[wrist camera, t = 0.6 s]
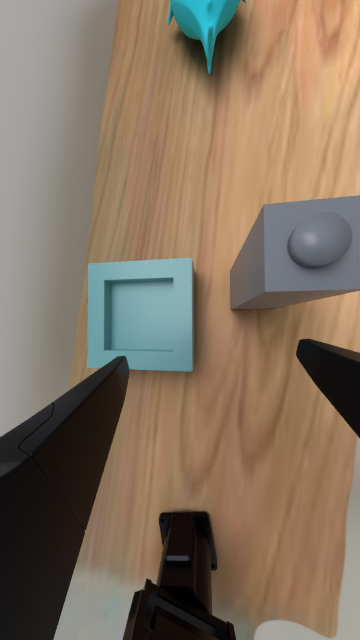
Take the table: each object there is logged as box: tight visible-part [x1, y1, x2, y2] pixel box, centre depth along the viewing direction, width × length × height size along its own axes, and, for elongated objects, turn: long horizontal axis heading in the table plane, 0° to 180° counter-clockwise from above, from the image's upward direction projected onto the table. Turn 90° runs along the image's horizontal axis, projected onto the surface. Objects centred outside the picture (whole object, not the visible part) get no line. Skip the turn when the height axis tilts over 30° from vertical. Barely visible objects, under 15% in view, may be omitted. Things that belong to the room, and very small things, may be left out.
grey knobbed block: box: [230, 196, 360, 309], centre depth 15 cm, size 5×5×13 cm
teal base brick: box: [87, 258, 195, 372], centre depth 21 cm, size 12×12×4 cm
